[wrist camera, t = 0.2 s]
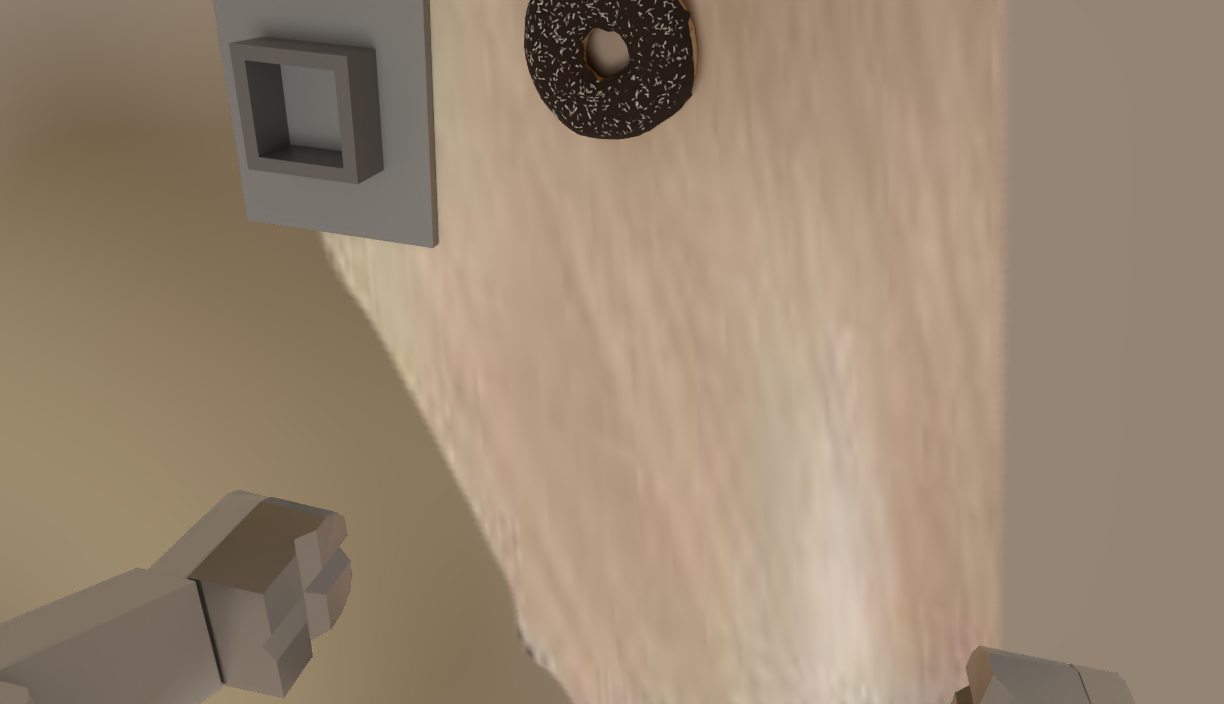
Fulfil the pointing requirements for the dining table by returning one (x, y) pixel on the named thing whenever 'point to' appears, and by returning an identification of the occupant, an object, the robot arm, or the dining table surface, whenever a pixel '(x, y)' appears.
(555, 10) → the donut
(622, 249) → the dining table surface
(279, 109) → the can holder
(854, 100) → the dining table surface
